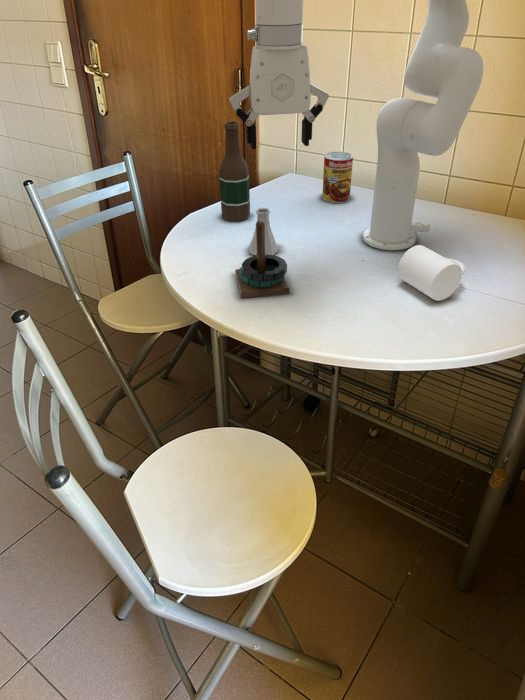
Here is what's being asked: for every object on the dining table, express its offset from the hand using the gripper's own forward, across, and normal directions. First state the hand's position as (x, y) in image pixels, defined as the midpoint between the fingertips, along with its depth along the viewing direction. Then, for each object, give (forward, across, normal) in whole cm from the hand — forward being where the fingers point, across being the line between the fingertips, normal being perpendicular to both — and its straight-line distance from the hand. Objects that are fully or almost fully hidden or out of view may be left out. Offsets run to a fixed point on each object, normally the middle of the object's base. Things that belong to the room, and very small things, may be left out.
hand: (279, 145), depth 96 cm
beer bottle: (+28, -5, +38) cm, 48 cm away
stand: (+28, -4, 0) cm, 29 cm away
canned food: (+28, +25, +46) cm, 60 cm away
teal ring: (+27, -4, +1) cm, 27 cm away
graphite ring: (+25, -3, 0) cm, 25 cm away
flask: (+28, -1, +16) cm, 33 cm away
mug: (+28, +31, -8) cm, 43 cm away
